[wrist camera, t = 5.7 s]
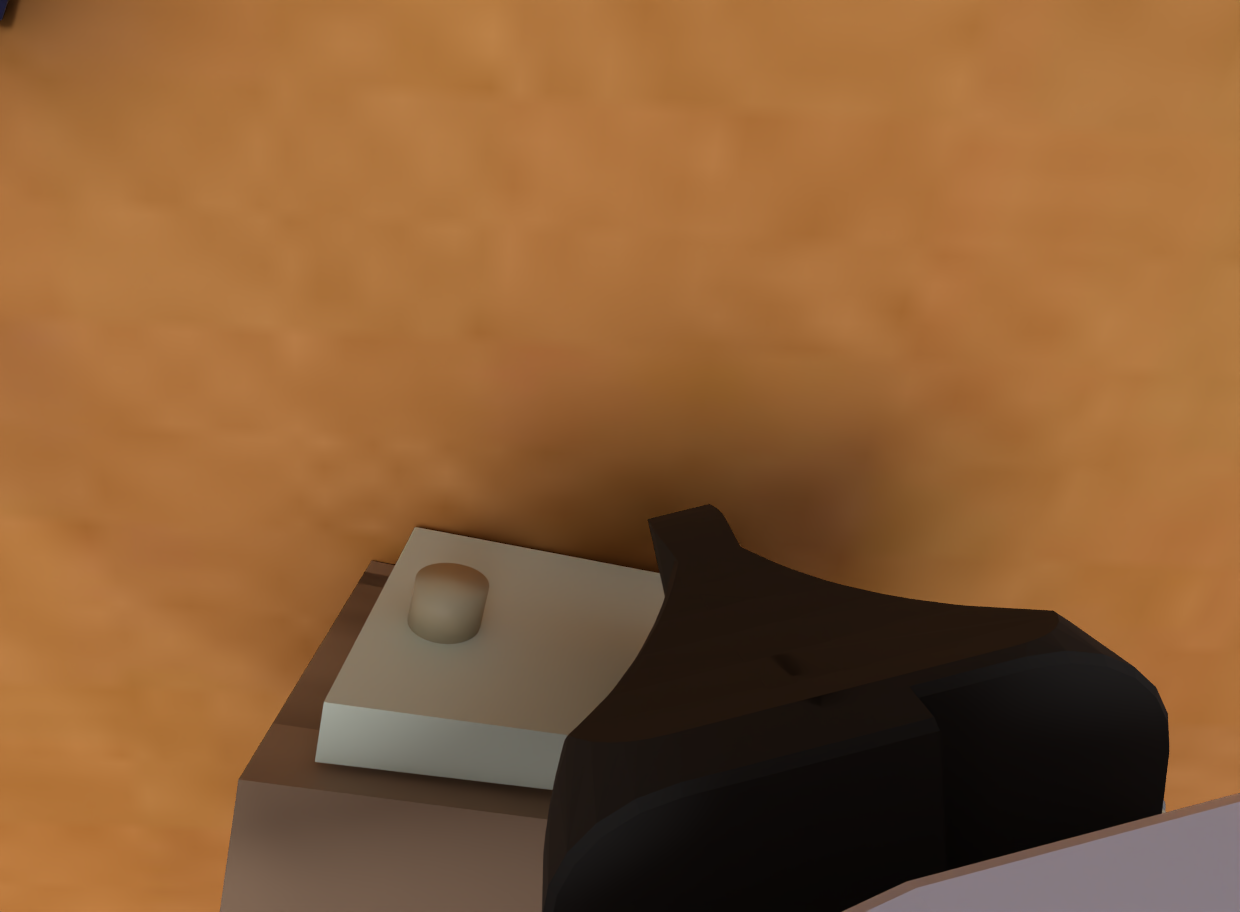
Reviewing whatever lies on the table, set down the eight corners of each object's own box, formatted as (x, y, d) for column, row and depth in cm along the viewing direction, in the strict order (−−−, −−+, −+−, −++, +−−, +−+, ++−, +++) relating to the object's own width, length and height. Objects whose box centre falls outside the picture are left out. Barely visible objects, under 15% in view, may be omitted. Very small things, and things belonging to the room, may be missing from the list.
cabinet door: (971, 667, 16) (1174, 863, 11) (407, 567, 13) (314, 761, 8) (1001, 609, 15) (1228, 785, 10) (421, 493, 13) (331, 651, 8)
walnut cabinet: (835, 938, 19) (955, 1225, 13) (308, 884, 16) (175, 1224, 10) (973, 680, 16) (1196, 903, 11) (371, 560, 13) (238, 779, 8)
